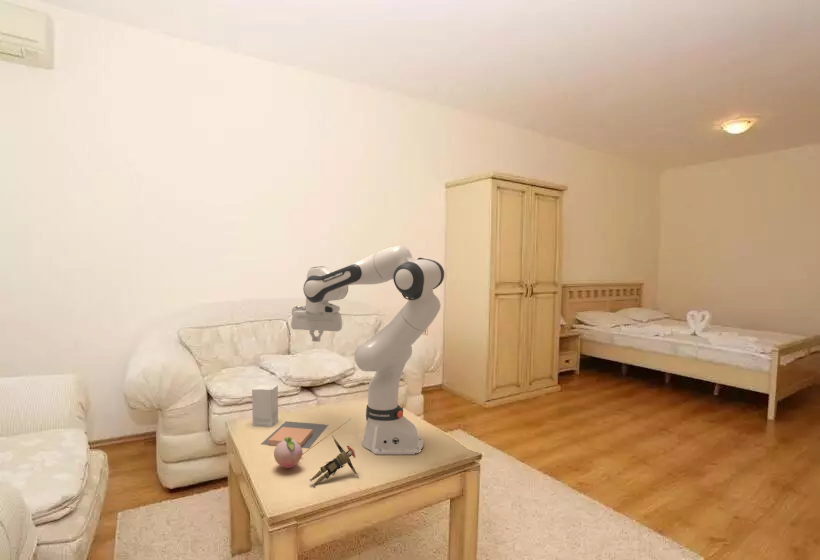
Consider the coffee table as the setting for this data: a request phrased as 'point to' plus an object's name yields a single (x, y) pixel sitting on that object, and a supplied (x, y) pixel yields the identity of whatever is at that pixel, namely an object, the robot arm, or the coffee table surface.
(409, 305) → the robot arm
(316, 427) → the mat
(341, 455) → the samurai figurine
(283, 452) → the decorative fruit
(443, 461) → the coffee table surface
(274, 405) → the skincare box
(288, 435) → the tile
